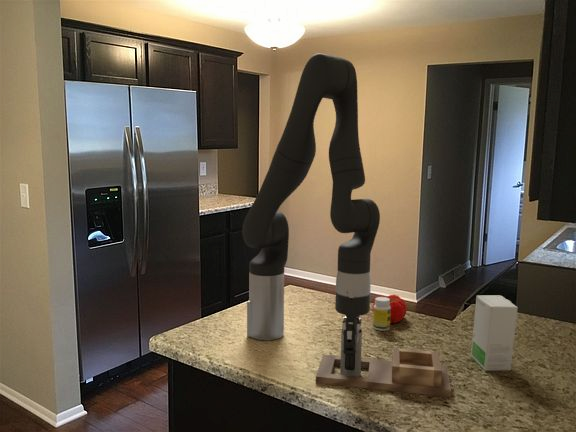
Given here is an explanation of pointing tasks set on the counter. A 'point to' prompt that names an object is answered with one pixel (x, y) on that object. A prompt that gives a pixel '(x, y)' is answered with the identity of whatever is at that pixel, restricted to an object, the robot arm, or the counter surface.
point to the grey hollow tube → (357, 357)
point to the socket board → (393, 373)
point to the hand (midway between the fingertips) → (350, 364)
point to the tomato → (396, 308)
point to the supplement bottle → (382, 314)
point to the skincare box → (493, 332)
